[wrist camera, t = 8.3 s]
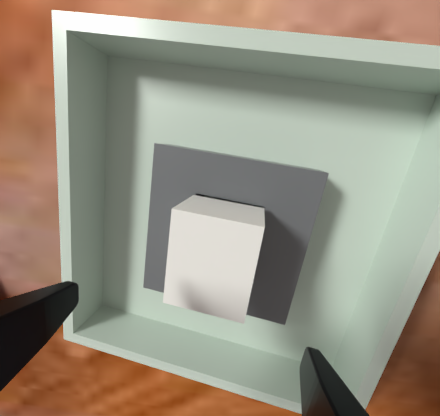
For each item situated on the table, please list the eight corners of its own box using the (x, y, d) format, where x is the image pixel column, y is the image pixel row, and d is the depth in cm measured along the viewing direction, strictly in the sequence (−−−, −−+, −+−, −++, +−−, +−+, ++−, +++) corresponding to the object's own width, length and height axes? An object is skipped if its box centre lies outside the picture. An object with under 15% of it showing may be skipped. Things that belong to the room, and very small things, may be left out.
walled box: (447, 84, 15) (531, 54, 11) (335, 371, 22) (355, 430, 18) (105, 45, 19) (51, 9, 14) (100, 304, 26) (63, 339, 21)
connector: (263, 197, 19) (264, 227, 11) (250, 262, 20) (244, 323, 13) (205, 187, 19) (171, 208, 12) (197, 250, 21) (162, 302, 14)
